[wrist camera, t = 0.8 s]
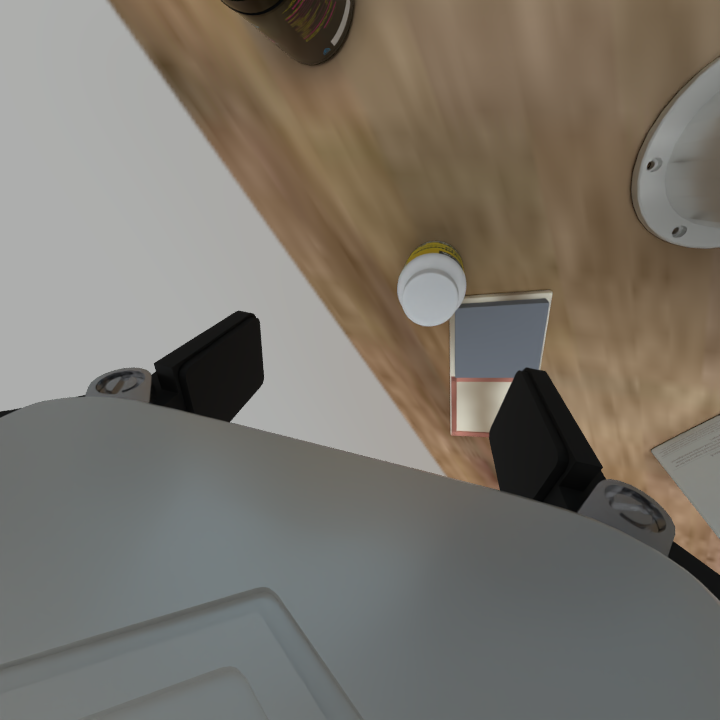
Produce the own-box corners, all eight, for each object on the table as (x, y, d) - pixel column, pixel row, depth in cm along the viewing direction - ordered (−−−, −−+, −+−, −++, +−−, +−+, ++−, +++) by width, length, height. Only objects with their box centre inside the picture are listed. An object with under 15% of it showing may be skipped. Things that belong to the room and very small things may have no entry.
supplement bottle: (470, 245, 27) (481, 272, 19) (452, 300, 30) (455, 344, 22) (412, 234, 28) (400, 255, 20) (400, 289, 31) (385, 327, 23)
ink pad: (545, 298, 27) (549, 302, 26) (534, 371, 31) (537, 377, 30) (454, 304, 30) (455, 308, 29) (454, 371, 33) (455, 377, 32)
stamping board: (549, 289, 28) (553, 293, 27) (527, 433, 36) (529, 439, 35) (449, 297, 30) (449, 300, 29) (450, 430, 39) (450, 435, 38)
